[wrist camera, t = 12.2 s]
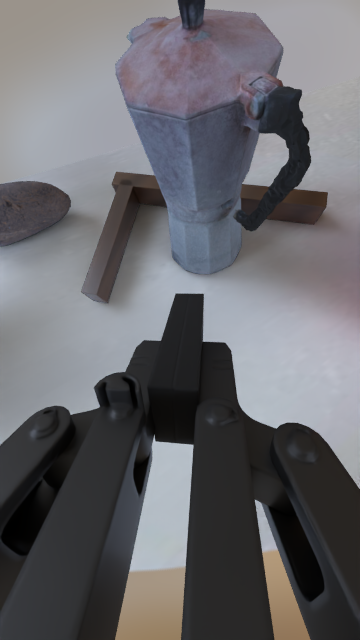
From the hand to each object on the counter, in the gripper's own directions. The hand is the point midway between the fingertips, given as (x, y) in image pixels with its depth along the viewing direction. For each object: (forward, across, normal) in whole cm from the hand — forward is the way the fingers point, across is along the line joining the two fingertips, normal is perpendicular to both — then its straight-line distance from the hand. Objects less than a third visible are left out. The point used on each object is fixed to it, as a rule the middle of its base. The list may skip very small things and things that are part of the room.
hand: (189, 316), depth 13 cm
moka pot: (+19, +1, 0) cm, 19 cm away
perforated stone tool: (+21, -24, +2) cm, 33 cm away
